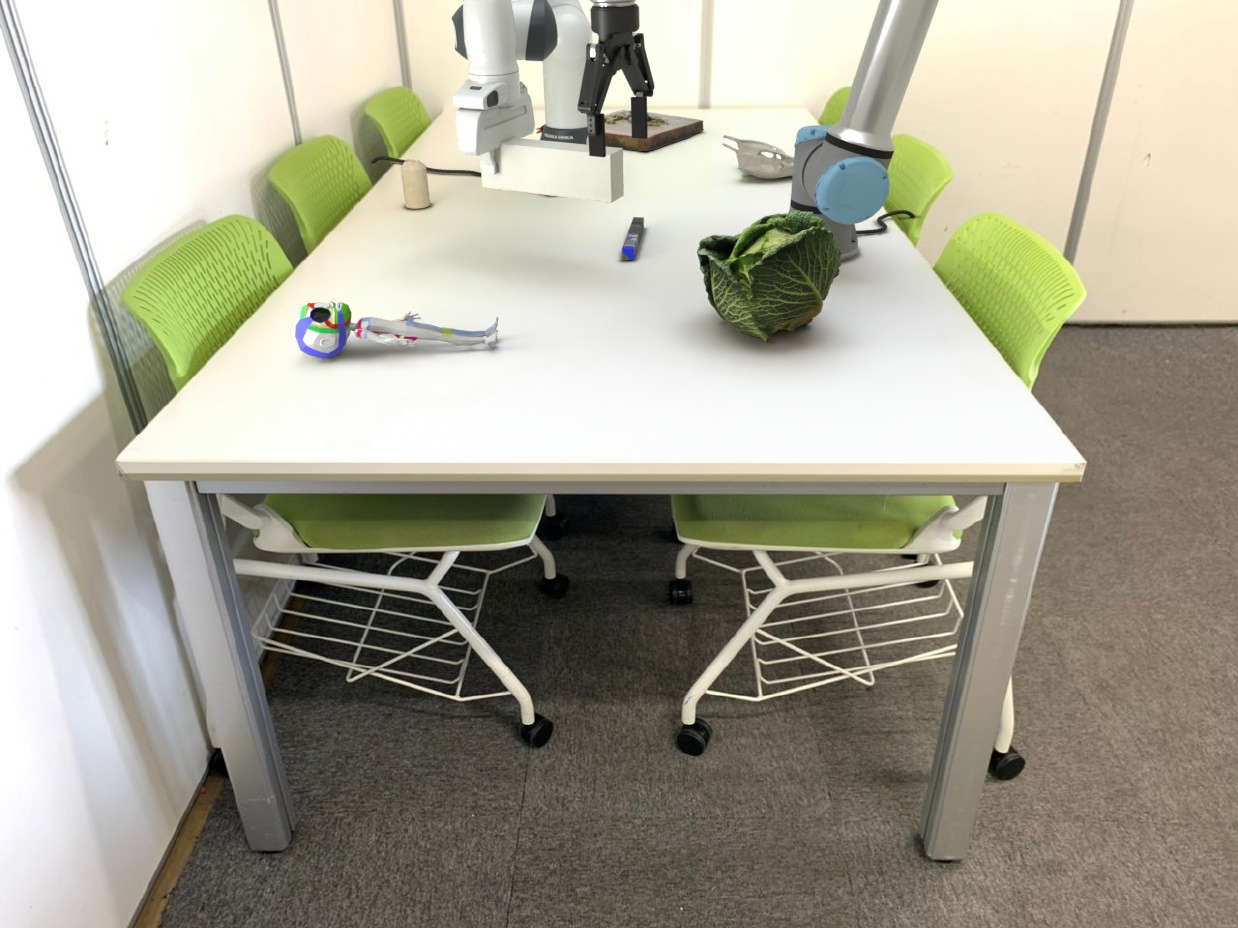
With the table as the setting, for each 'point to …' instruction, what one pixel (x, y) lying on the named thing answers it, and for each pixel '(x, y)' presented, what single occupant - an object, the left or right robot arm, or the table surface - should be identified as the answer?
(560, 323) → the table surface
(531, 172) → the bar
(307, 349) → the toy
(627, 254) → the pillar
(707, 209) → the table surface
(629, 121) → the plaque
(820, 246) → the vegetable
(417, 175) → the candle
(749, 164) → the anatomical model
